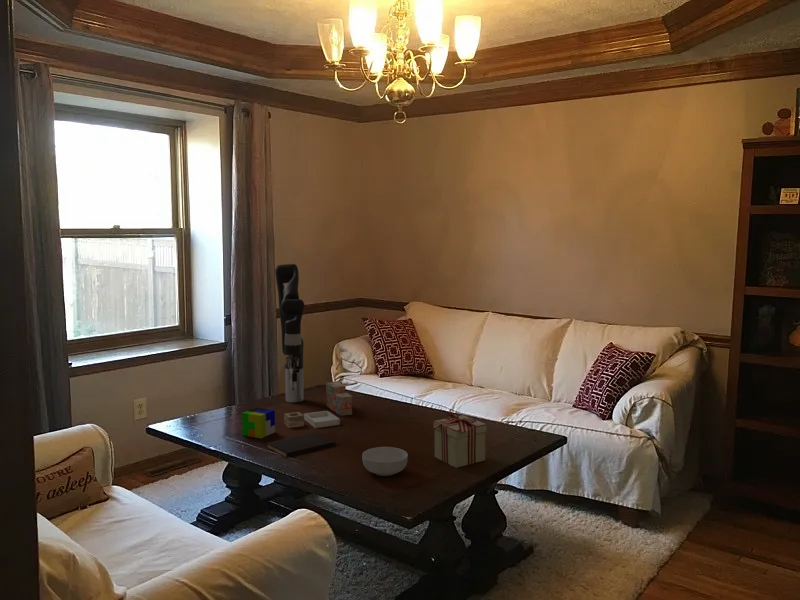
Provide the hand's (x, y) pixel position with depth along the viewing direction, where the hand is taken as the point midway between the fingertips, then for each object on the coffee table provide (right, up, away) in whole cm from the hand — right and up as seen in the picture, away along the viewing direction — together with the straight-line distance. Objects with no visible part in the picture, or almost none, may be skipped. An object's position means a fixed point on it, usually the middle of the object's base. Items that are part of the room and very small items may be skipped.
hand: (293, 380), depth 305 cm
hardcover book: (+8, -25, -28) cm, 38 cm away
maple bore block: (0, -21, +2) cm, 21 cm away
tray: (+12, -20, +7) cm, 24 cm away
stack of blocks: (+18, -18, +28) cm, 38 cm away
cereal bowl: (+43, -27, -58) cm, 77 cm away
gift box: (+71, -26, -44) cm, 88 cm away
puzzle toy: (-13, -22, -11) cm, 28 cm away
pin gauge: (0, -4, 0) cm, 4 cm away
